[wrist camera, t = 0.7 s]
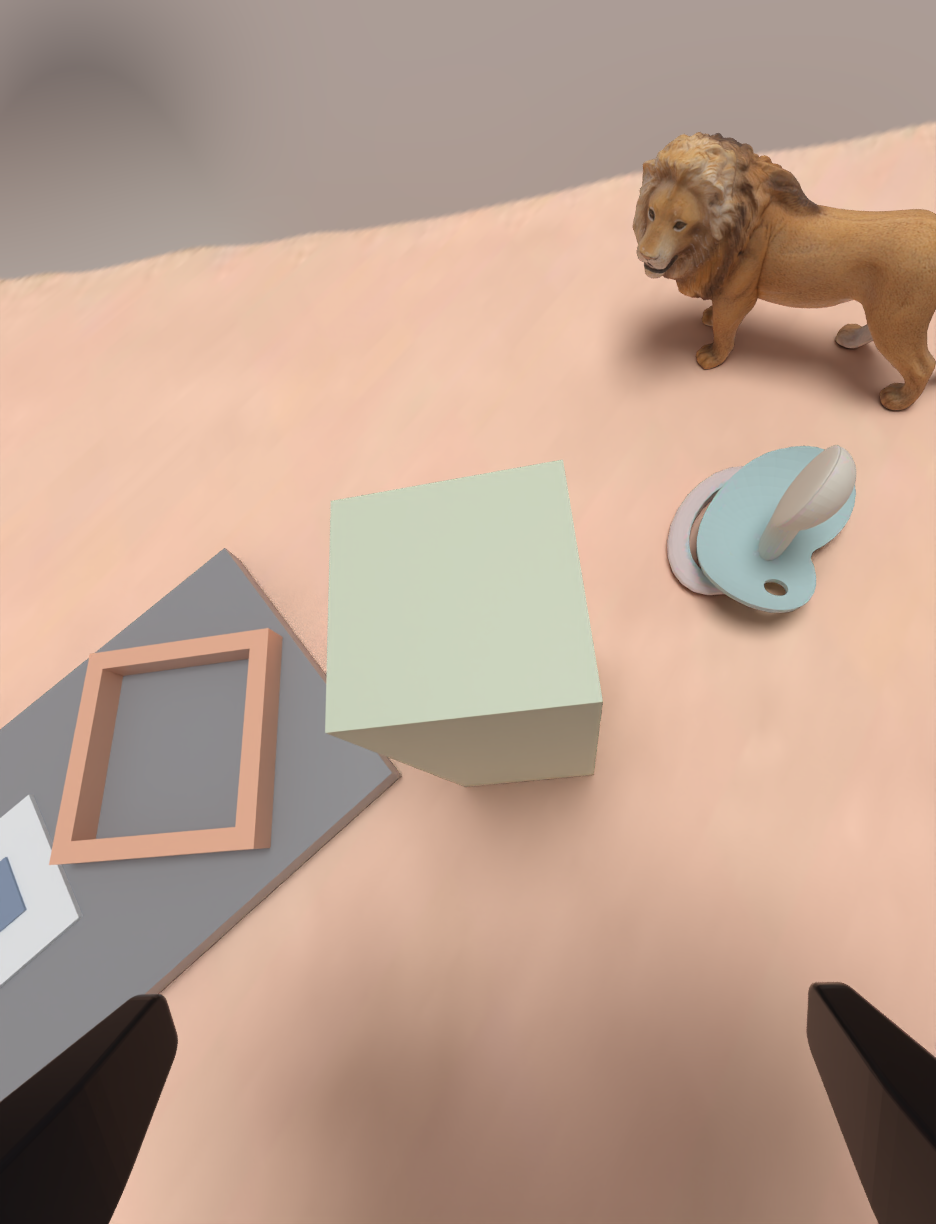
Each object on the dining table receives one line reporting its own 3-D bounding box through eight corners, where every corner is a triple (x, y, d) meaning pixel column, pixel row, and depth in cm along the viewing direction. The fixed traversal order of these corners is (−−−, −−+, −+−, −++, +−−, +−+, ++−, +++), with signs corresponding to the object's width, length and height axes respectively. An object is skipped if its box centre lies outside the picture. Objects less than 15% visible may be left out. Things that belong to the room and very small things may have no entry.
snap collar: (270, 847, 22) (253, 848, 20) (74, 863, 23) (48, 865, 22) (282, 636, 25) (268, 628, 24) (110, 661, 26) (89, 653, 25)
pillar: (593, 774, 21) (602, 701, 9) (465, 786, 22) (324, 732, 10) (574, 650, 23) (563, 459, 11) (457, 665, 24) (330, 501, 12)
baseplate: (-2, 1137, 21) (-44, 1158, 19) (-92, 828, 26) (-130, 827, 25) (401, 775, 23) (389, 771, 21) (238, 559, 28) (220, 544, 27)
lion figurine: (611, 379, 28) (621, 189, 20) (637, 300, 29) (657, 93, 21) (959, 423, 24) (1157, 205, 15) (968, 328, 25) (1154, 83, 17)
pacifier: (638, 584, 24) (783, 646, 22) (648, 504, 18) (845, 577, 16) (711, 454, 26) (853, 499, 23) (740, 343, 20) (931, 389, 18)
